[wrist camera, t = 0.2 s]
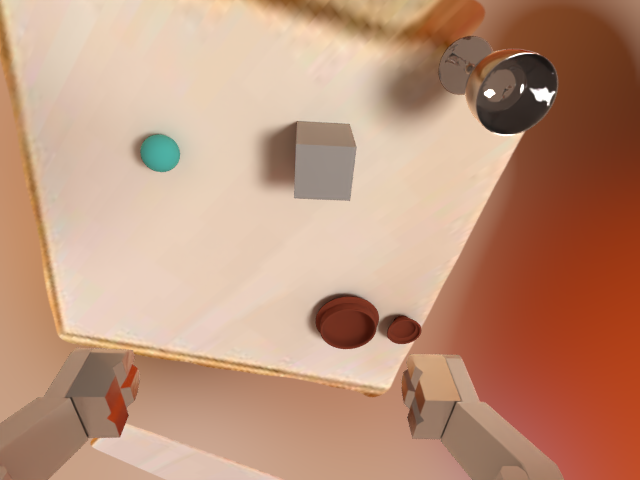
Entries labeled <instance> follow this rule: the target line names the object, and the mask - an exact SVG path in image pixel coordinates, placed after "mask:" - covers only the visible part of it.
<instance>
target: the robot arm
mask: <svg viewBox="0 0 640 480" xmlns="http://www.w3.org/2000/svg"><path fill="white" fill-rule="evenodd" d="M134 359H135V356H134V353H133V350H121V349H98V348H93V349H92V348H76V349H75V350H73V351H72V352H71V353H70V355H69V356H68V358H67V360H66V361H65V363H64V365H63V366H62V368H61V369H60V371H59V373H58V374H57V376H56V378H55V379H54V381H53V382H52V384H51V386H50V388H49V389H48V391H47V392H46V394H45V395H44V397H42V398H41V397H39V398H36V399H35V400H33V401H32V402H31V403H29V404H28V405H26V406H25V407H23V408H22V409H20V410H19V411H17V412H16V413H15V414H13V415H12V416H10V417H9V418H7V419H6V420H4V421H3V422H2V423H0V480H48V479H49V478H50V477H51V476H52V475H53V474H54V473H55V472H56V471H57V470H58V469H59V468H60V467H61V466H62V465H63V464H64V463H65V462H66V461H67V460H68V459H69V458H71V457H72V456H73V455H74V453H76V452H77V451H78V449H80V448H81V447H82V446H83V445H84V444H85V443H86V442H87V441H88V438H113V437H120V436H121V433H122V431H123V428H124V426H125V423H126V421H127V418H128V416H129V415H128V411H127V407H128V406H129V405H130V404H131V403H133V402H134V400H135V398H136V395H137V393H138V388H139V382H140V380H139V379H140V378H139V371H138V368H137V367H136V366H134V365H133V362H134ZM406 363H407V368H408V369H407V370H406V371H404V372H403V377H402V396H403V401H404V404H405V405H406V406H407V407H408V408H409V409H410V410H409V413H408V417H407V418H408V422H409V427H410V431H411V435H412V438H413V439H441V442H442V443H443V444H444V446H445V447H446V448H447V449H448V451H449V452H450V453H451V454H452V456H453V457H454V458H455V459H456V460H457V462H458V463H459V464H460V465H461V467H462V468H463V469H464V470H465V471H466V473H467V474H468V475H469V477H470V478H471V479H472V480H564V478H563V476H562V475H561V473H560V471H559V468H558V467H557V465H556V464H555V463H554V462H553V461H551V460H550V459H549V458H548V457H547V456H546V455H545V454H544V453H542V452H541V451H540V450H539V449H538V448H537V447H536V446H534V445H533V444H532V443H531V442H530V441H529V440H528V439H526V438H525V437H524V436H523V435H522V434H521V433H519V432H518V431H517V430H516V429H515V428H514V427H513V426H511V425H510V424H509V423H508V422H507V421H506V420H505V419H504V418H502V417H501V416H500V415H499V414H498V413H497V412H496V411H494V410H493V409H492V408H491V407H490V406H489V405H488V404H486V403H485V402H480V401H479V398H478V396H477V394H476V391H475V389H474V386H473V384H472V382H471V379H470V377H469V374H468V372H467V370H466V367H465V365H464V363H463V360H462V358H461V357H460V356H459V355H441V354H439V355H438V354H437V355H436V354H434V355H433V354H430V355H429V354H410V355H409V356H408V358H407V362H406Z"/></svg>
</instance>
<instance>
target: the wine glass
mask: <svg viewBox="0 0 640 480" xmlns="http://www.w3.org/2000/svg"><path fill="white" fill-rule="evenodd" d="M439 78H440V81H441V84H442V85H443V87H444V88H445V89H446V90H447V91H449V92H451V93H453V94H457V95H465V97H466V101H467V104H468V107H469V109H470V111H471V113H472V114H473V116H474V117H475V118H476V119H477V120H478V122H479V123H480V124H481V125H482V126H484V127H485V128H486V129H488V130H489V131H491V132H493V133H495V134H499V135H514V134H518V133H521V132H524V131H526V130H528V129H530V128H532V127H533V126H534V125H536V124H537V123H538V122H539V121H540V120H542V119H543V117H544V116H545V115H546V114H547V113H548V111H549V110H550V108H551V107H552V105H553V103H554V101H555V98H556V95H557V91H558V76H557V72H556V69H555V67H554V66H553V64H552V63H551V62H550V61H549V60H548V59H546V58H545V57H543V56H541V55H539V54H537V53H534V52H531V51H527V50H522V49H506V50H500V51H496V52H493V50H492V48H491V46H490V45H489V43H488V42H487V41H486V40H484V39H482V38H480V37H476V36H467V37H463V38H461V39H459V40H457V41H455V42H454V43H453V44H451V45H450V46H449V47H448V49H447V50H446V51H445V53H444V54H443V56H442V58H441V61H440V64H439Z"/></svg>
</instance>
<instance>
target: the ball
mask: <svg viewBox="0 0 640 480" xmlns="http://www.w3.org/2000/svg"><path fill="white" fill-rule="evenodd" d="M140 153H141V158H142V160H143V162H144V163H145V165H146V166H147V167H149V168H150V169H152V170H154V171H157V172H166V171H169V170H171V169H173V168H174V167H175V166H176V165H177V164H178V162H179V159H180V151H179V147H178V145H177V144H176V143H175V141H174V140H172V139H171V138H170V137H168V136H165V135H160V134H157V135H152V136H150V137H148V138H147V139H146V140H145V141H144V142H143V144H142V146H141V150H140Z"/></svg>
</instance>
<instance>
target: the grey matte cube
mask: <svg viewBox="0 0 640 480" xmlns="http://www.w3.org/2000/svg"><path fill="white" fill-rule="evenodd" d="M355 155H356V144H355V140H354V137H353V134H352V130H351V127H350V124H338V123H320V122H302V121H297V133H296V158H295V187H294V198H299V199H322V200H345V201H350V197H351V188H352V180H353V172H354V164H355Z"/></svg>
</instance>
